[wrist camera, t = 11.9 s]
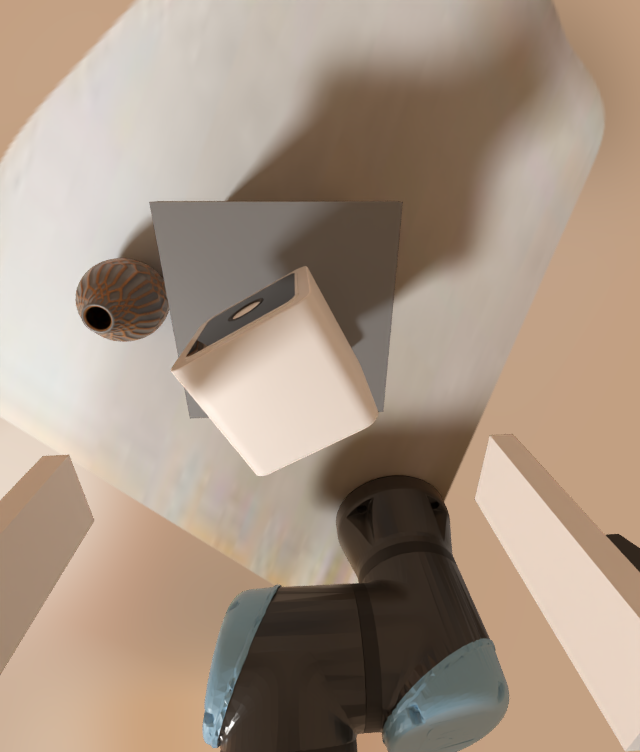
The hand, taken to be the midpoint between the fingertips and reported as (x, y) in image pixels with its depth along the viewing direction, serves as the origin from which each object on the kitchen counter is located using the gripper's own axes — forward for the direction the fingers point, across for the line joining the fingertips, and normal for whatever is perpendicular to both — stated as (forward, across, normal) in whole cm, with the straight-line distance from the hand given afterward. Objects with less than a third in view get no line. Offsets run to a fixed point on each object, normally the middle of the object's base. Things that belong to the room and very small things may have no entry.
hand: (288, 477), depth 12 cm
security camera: (+14, 0, -1) cm, 14 cm away
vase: (+27, +14, 0) cm, 31 cm away
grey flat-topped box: (+27, 0, -1) cm, 27 cm away
